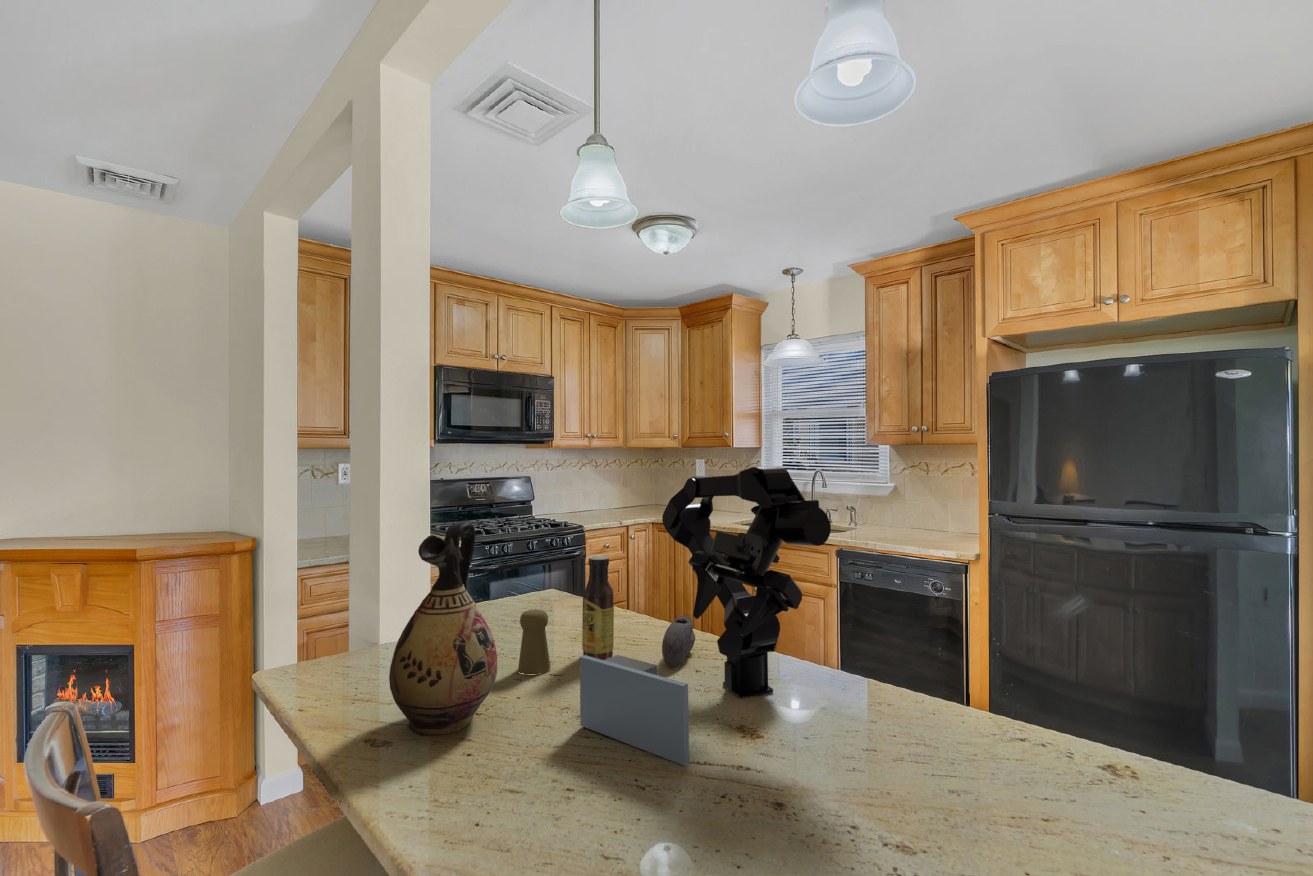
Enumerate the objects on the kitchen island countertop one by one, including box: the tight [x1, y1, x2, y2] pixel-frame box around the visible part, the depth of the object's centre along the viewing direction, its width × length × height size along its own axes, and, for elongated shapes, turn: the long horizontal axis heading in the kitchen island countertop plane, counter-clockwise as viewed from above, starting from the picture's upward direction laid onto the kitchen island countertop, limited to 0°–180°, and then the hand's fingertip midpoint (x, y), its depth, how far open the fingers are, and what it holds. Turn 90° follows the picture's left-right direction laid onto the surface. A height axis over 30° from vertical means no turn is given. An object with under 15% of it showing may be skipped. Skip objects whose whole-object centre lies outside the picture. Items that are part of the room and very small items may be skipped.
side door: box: [579, 655, 690, 766], centre depth 84 cm, size 1×19×10 cm, turn 51°
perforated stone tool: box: [661, 615, 696, 667], centre depth 120 cm, size 15×5×7 cm, turn 162°
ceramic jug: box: [388, 520, 498, 737], centre depth 94 cm, size 17×15×30 cm
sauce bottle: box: [581, 555, 615, 660], centre depth 122 cm, size 7×6×20 cm
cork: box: [517, 608, 551, 675], centre depth 115 cm, size 6×6×11 cm
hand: (717, 626), depth 92 cm, fingers open, 9 cm apart
